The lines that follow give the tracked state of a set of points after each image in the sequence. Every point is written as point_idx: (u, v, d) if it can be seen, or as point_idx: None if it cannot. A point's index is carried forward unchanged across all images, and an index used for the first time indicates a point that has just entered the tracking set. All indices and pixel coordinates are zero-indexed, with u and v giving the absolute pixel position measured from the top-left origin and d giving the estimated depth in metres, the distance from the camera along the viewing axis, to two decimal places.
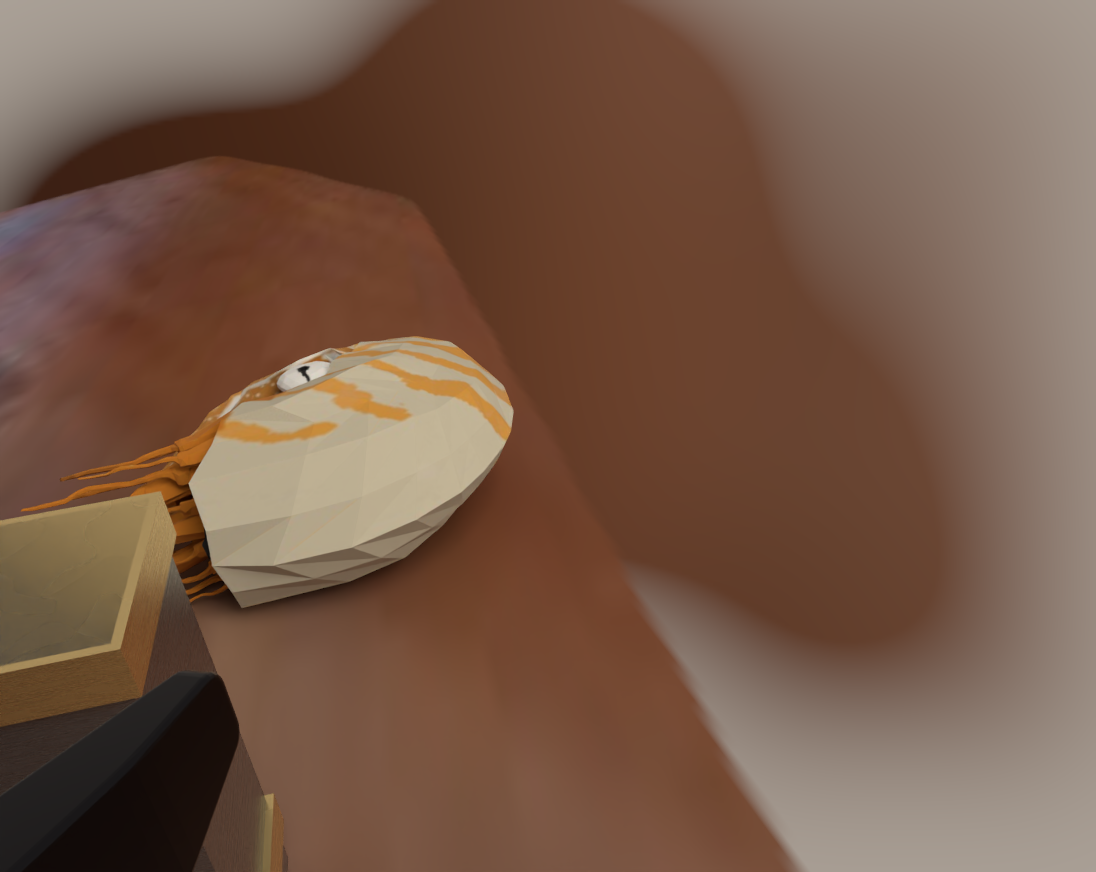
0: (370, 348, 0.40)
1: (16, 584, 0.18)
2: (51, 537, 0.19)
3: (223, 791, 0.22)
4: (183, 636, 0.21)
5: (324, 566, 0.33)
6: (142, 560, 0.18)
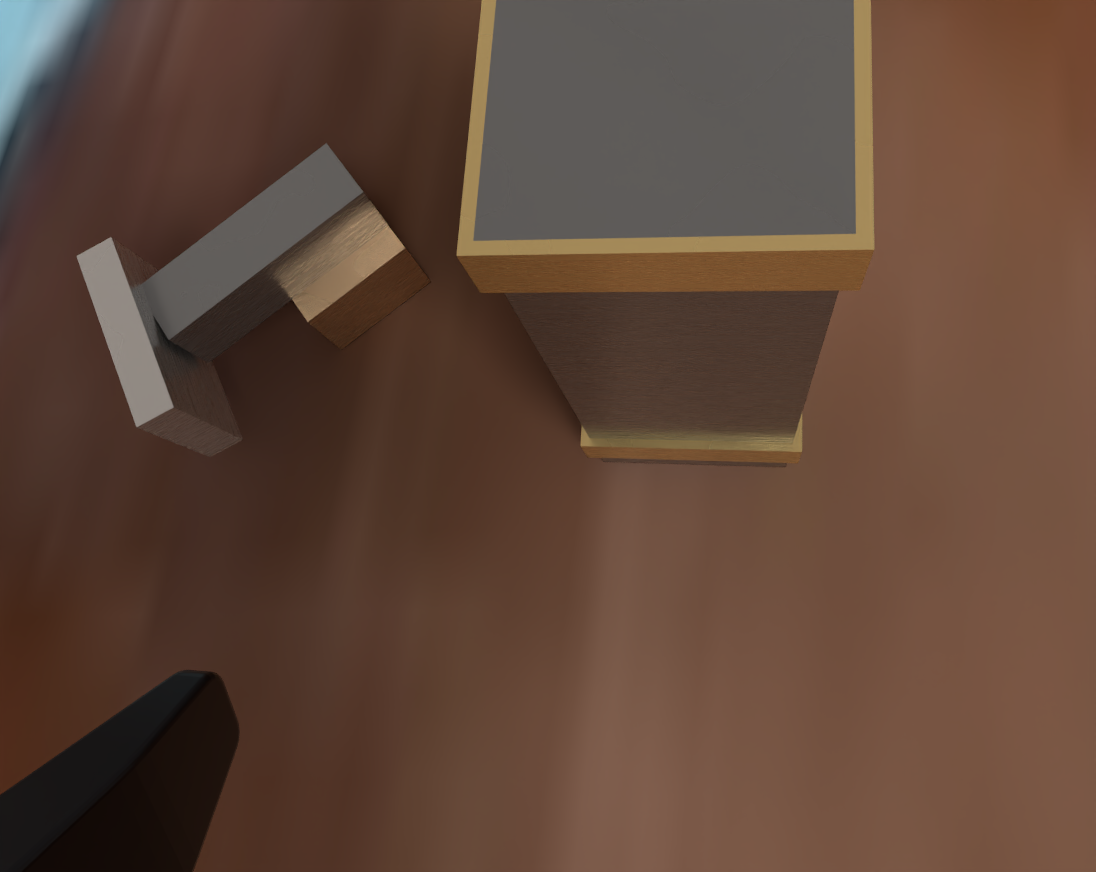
0: None
1: (674, 67, 0.12)
2: None
3: None
4: None
5: None
6: (870, 57, 0.11)
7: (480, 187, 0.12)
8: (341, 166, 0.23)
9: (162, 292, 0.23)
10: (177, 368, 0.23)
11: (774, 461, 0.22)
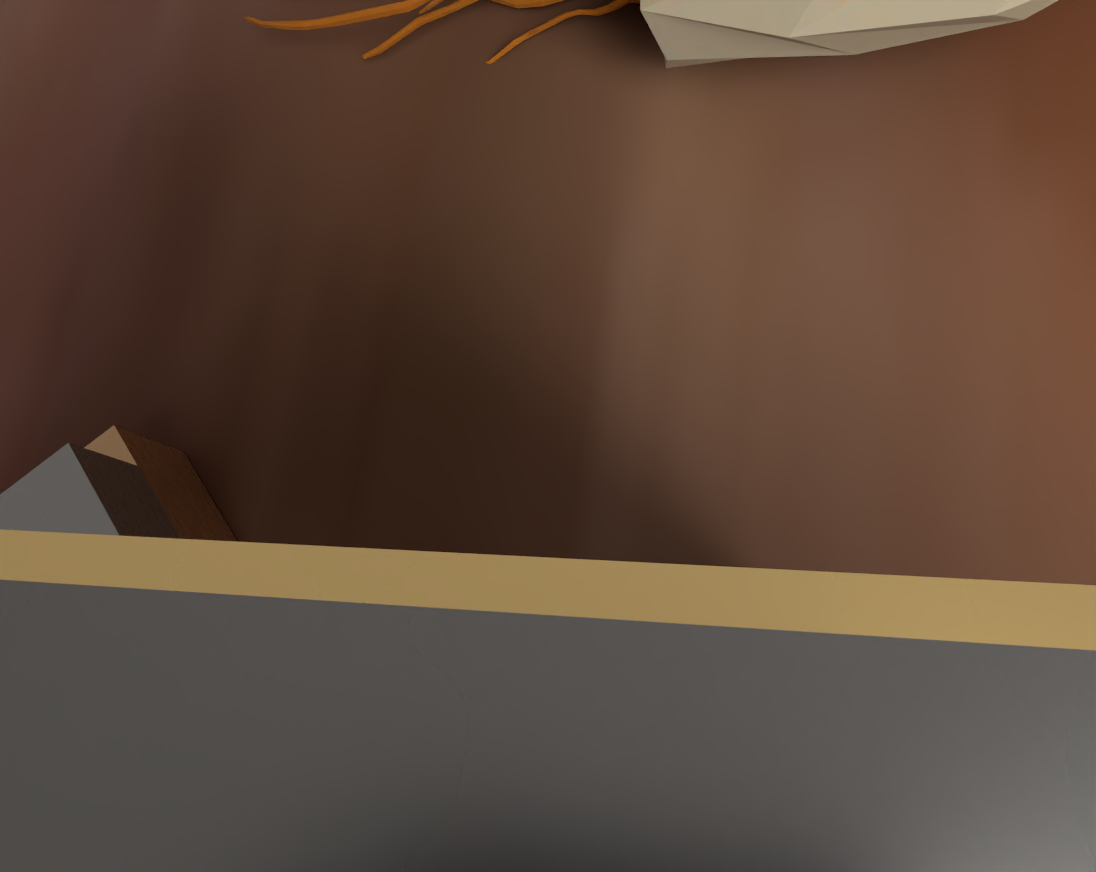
0: None
1: None
2: None
3: None
4: None
5: (892, 35, 0.14)
6: None
7: None
8: (88, 486, 0.14)
9: None
10: None
11: None
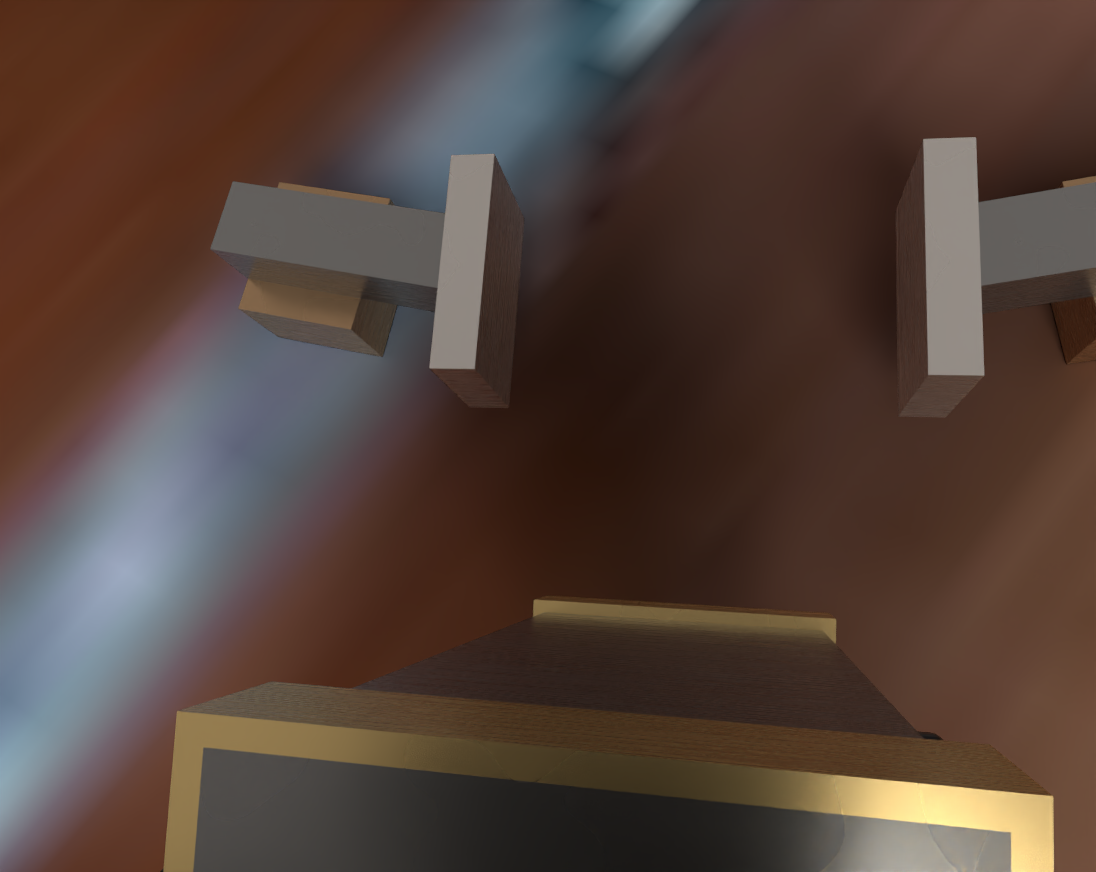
0: None
1: None
2: None
3: None
4: None
5: None
6: None
7: None
8: None
9: (992, 226, 0.19)
10: None
11: None
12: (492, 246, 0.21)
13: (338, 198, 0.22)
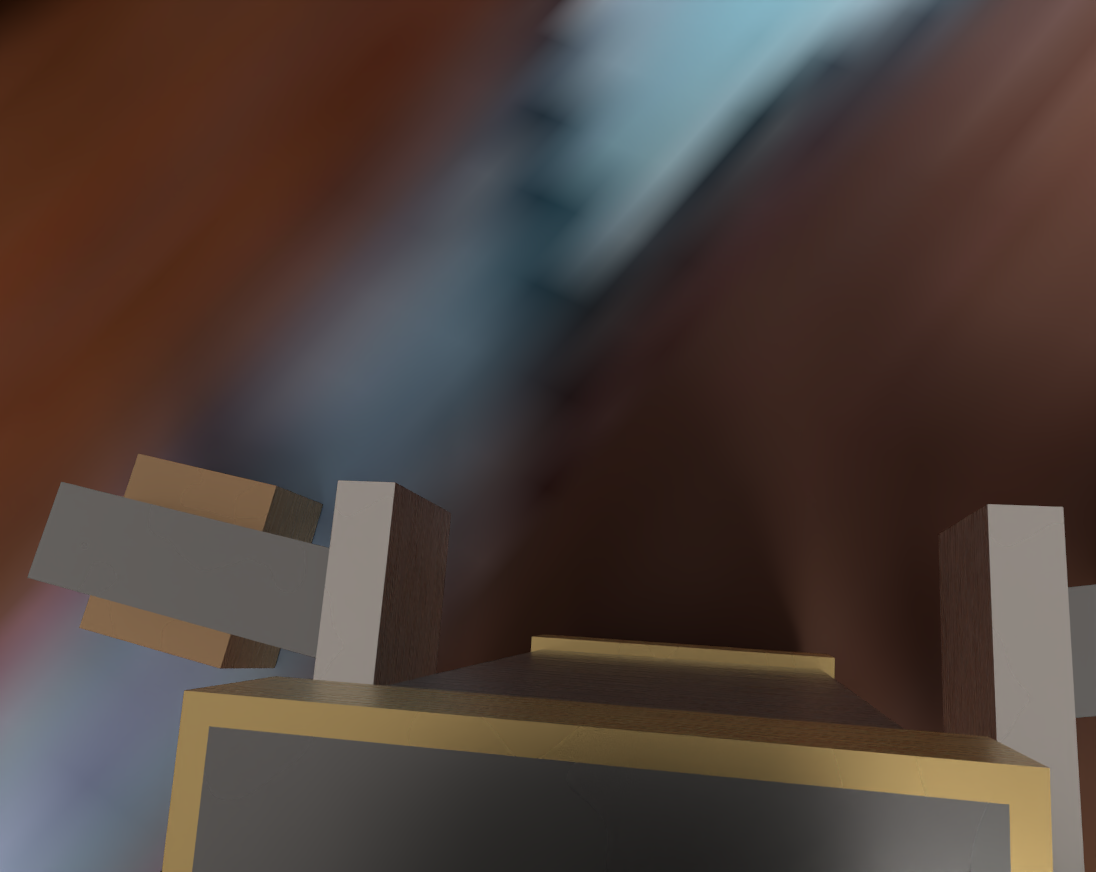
0: None
1: None
2: None
3: None
4: None
5: None
6: None
7: None
8: None
9: (1084, 627, 0.13)
10: None
11: None
12: (393, 606, 0.15)
13: (194, 516, 0.16)
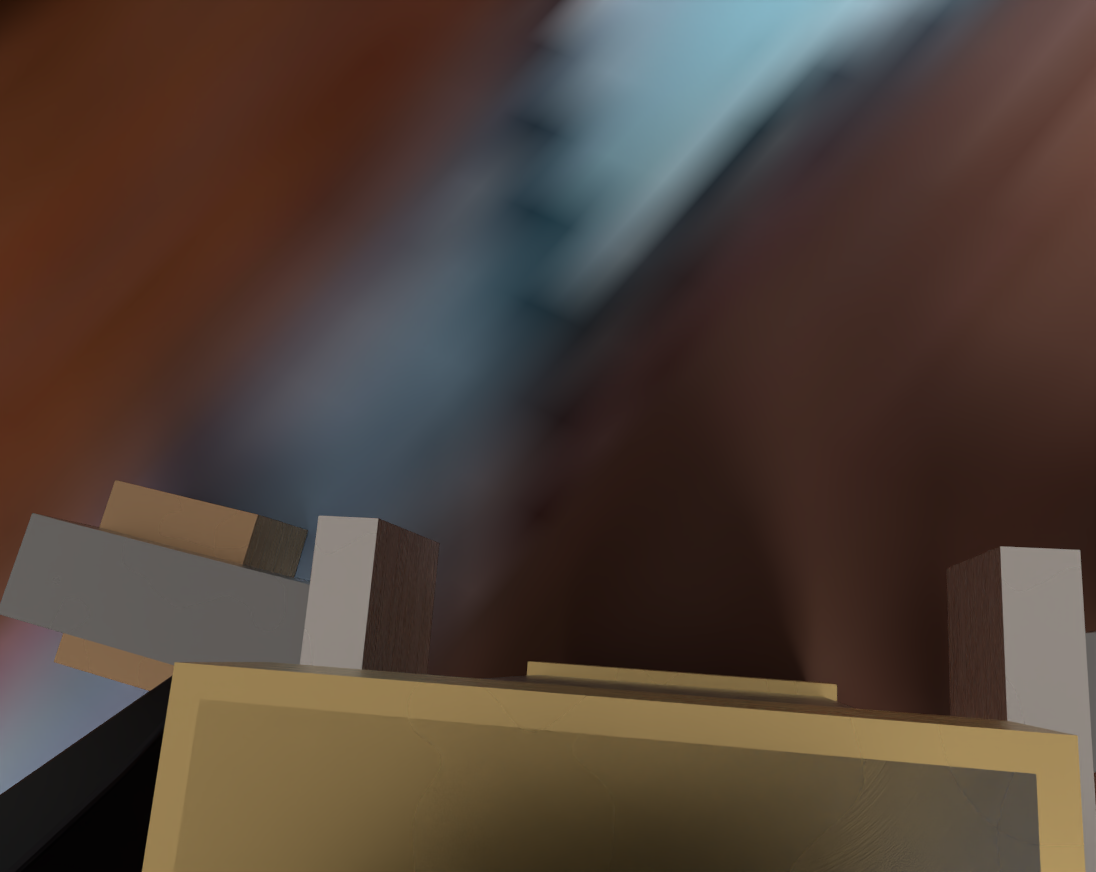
0: None
1: None
2: None
3: None
4: None
5: None
6: None
7: None
8: None
9: None
10: None
11: None
12: (377, 647, 0.14)
13: (170, 551, 0.16)
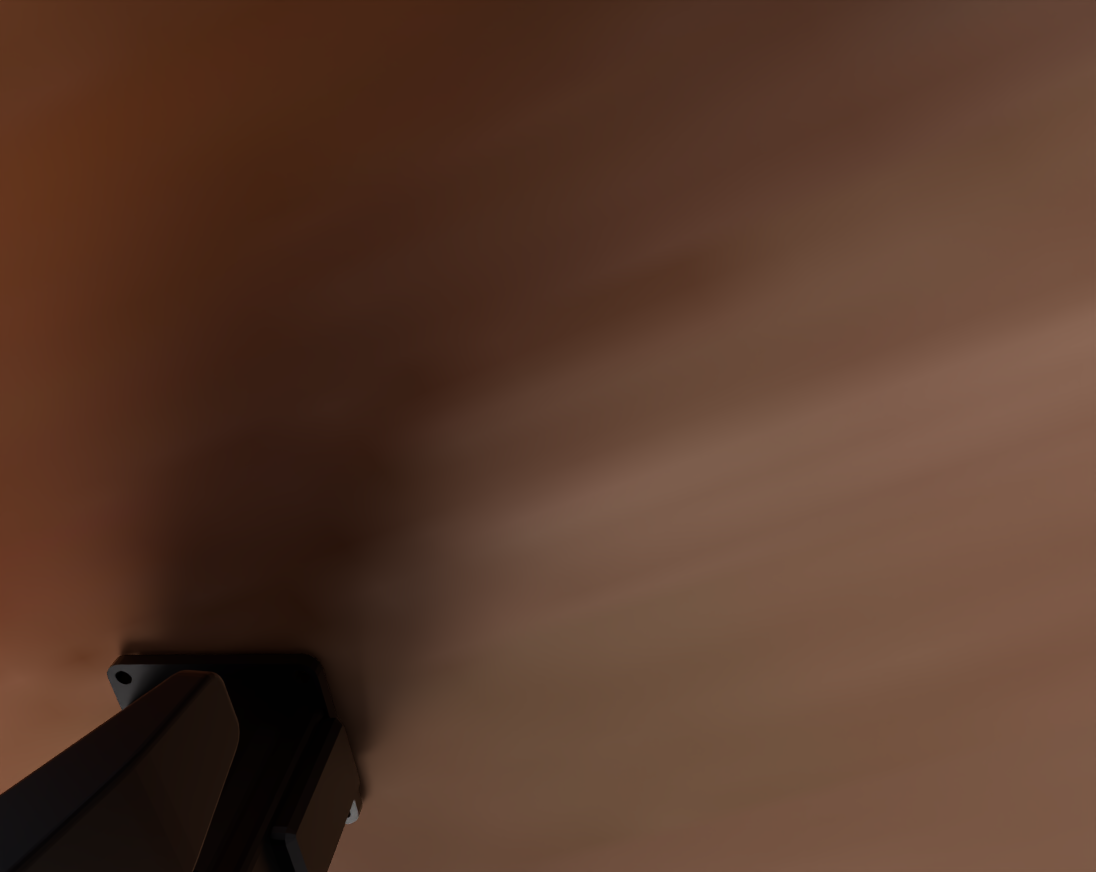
0: None
1: None
2: None
3: None
4: None
5: None
6: None
7: None
8: None
9: None
10: None
11: None
12: None
13: None
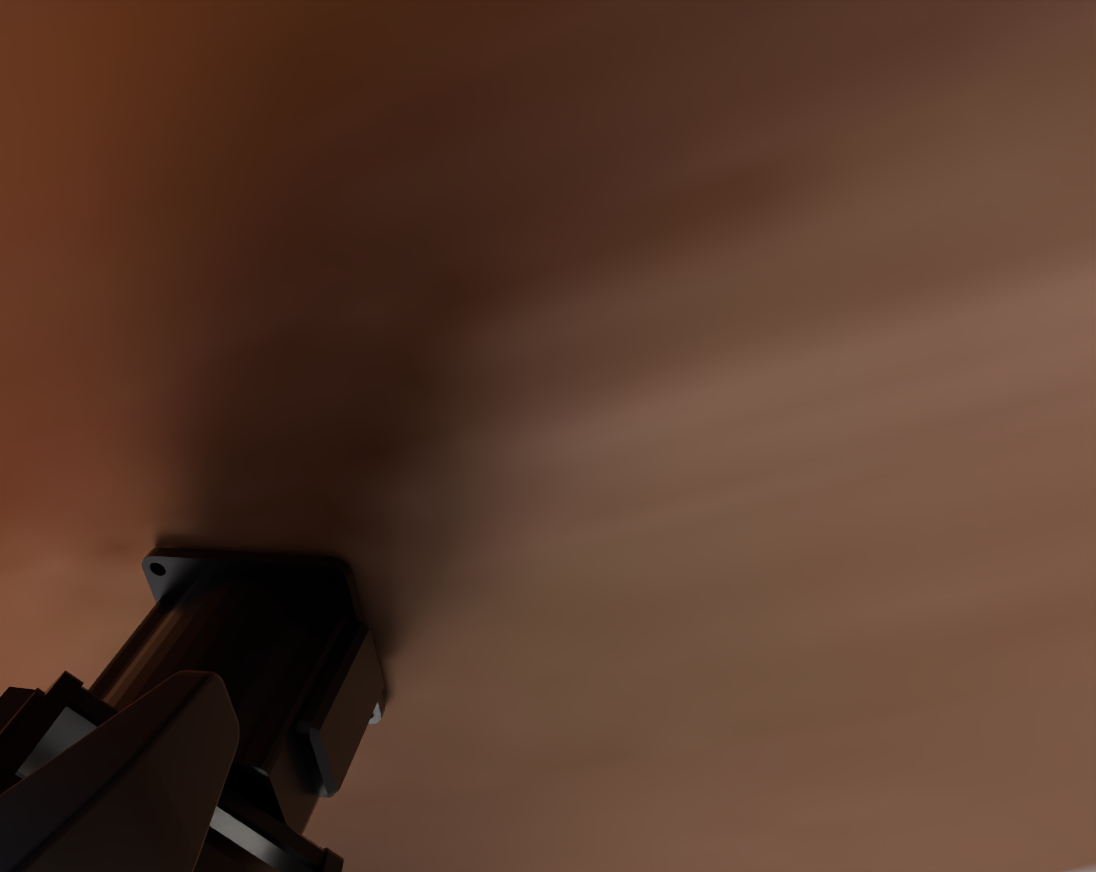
0: None
1: None
2: None
3: None
4: None
5: None
6: None
7: None
8: None
9: None
10: None
11: None
12: None
13: None
